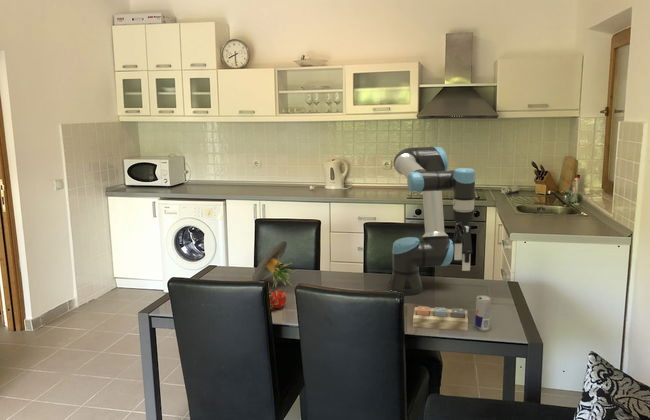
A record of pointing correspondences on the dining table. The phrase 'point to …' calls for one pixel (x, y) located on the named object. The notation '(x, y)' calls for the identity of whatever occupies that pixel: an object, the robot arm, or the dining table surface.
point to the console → (440, 320)
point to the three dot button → (440, 312)
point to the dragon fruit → (277, 299)
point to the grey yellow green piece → (273, 265)
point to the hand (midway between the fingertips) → (461, 265)
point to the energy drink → (483, 313)
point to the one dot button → (423, 310)
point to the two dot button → (457, 313)
